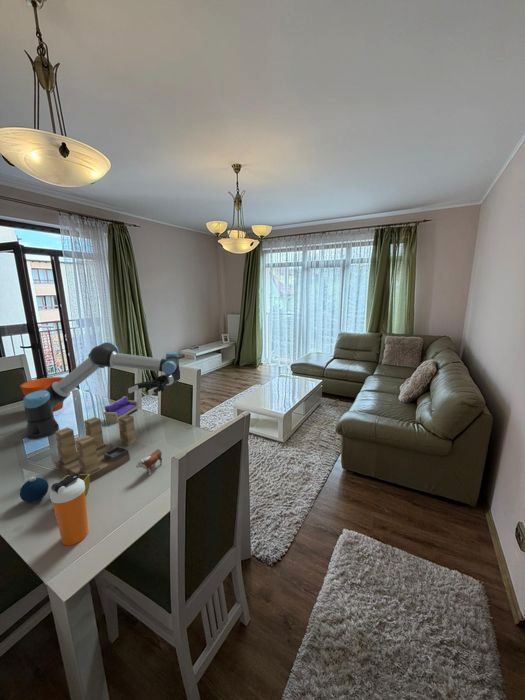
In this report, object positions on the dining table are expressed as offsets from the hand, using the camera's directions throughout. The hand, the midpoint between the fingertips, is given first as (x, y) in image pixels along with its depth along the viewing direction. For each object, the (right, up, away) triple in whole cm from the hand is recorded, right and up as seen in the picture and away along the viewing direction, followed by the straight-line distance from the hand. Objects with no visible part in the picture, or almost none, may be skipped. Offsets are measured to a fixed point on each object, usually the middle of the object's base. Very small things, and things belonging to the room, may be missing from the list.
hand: (138, 392), depth 151 cm
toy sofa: (-23, -20, +29) cm, 43 cm away
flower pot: (-3, -34, -48) cm, 59 cm away
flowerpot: (-81, -19, +42) cm, 93 cm away
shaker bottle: (+7, -37, -62) cm, 73 cm away
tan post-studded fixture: (-10, -30, -23) cm, 39 cm away
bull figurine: (+18, -30, -29) cm, 46 cm away
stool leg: (-3, -26, -4) cm, 26 cm away
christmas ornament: (-19, -34, -45) cm, 60 cm away
